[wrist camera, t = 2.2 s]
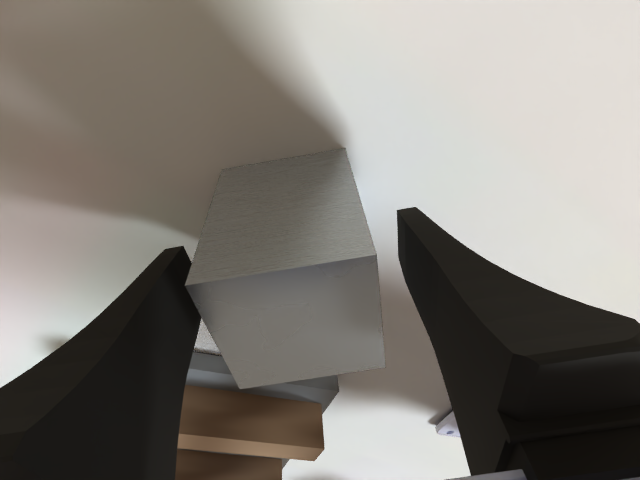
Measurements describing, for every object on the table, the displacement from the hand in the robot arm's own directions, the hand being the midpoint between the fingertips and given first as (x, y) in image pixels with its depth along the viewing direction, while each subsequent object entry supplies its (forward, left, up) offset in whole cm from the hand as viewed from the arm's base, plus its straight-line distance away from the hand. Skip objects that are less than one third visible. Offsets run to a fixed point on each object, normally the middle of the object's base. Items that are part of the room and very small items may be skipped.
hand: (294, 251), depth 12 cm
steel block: (0, 0, -3) cm, 3 cm away
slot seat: (0, +16, -3) cm, 16 cm away
